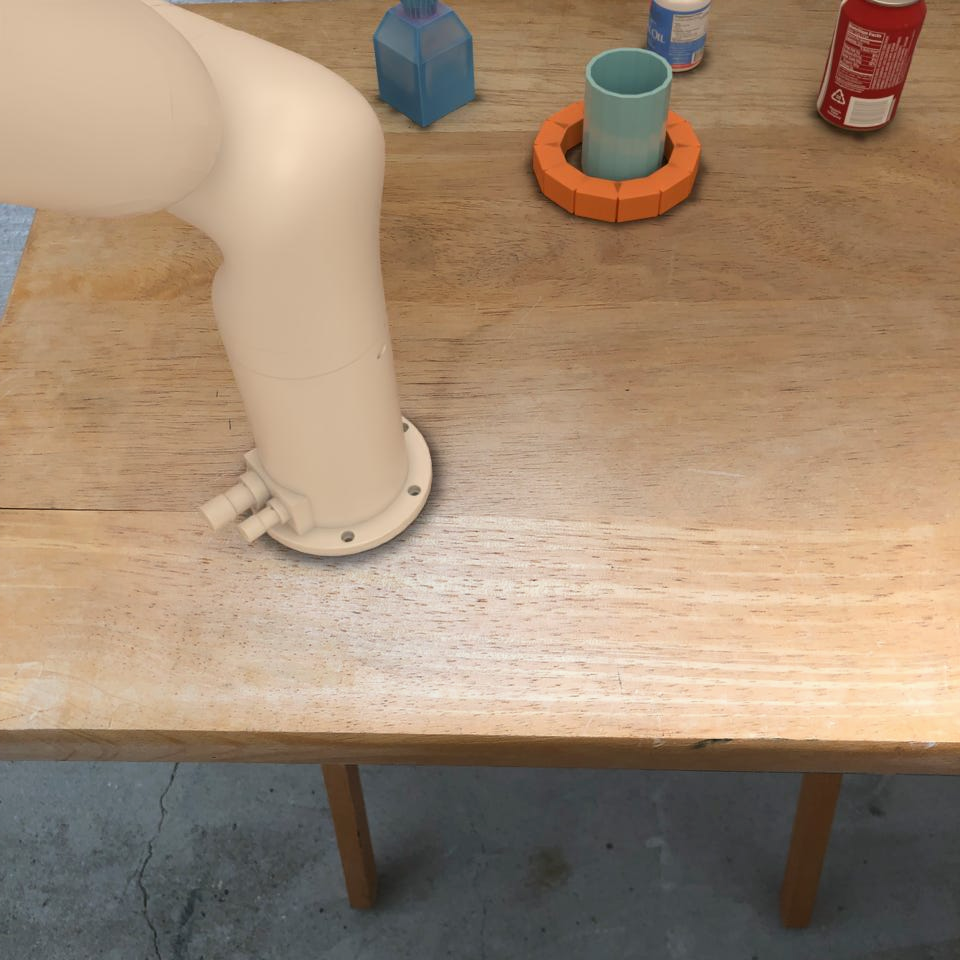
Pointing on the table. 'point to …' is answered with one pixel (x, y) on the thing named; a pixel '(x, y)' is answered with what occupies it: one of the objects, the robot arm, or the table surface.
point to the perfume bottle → (424, 60)
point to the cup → (625, 114)
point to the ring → (607, 195)
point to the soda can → (869, 62)
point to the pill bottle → (678, 31)
